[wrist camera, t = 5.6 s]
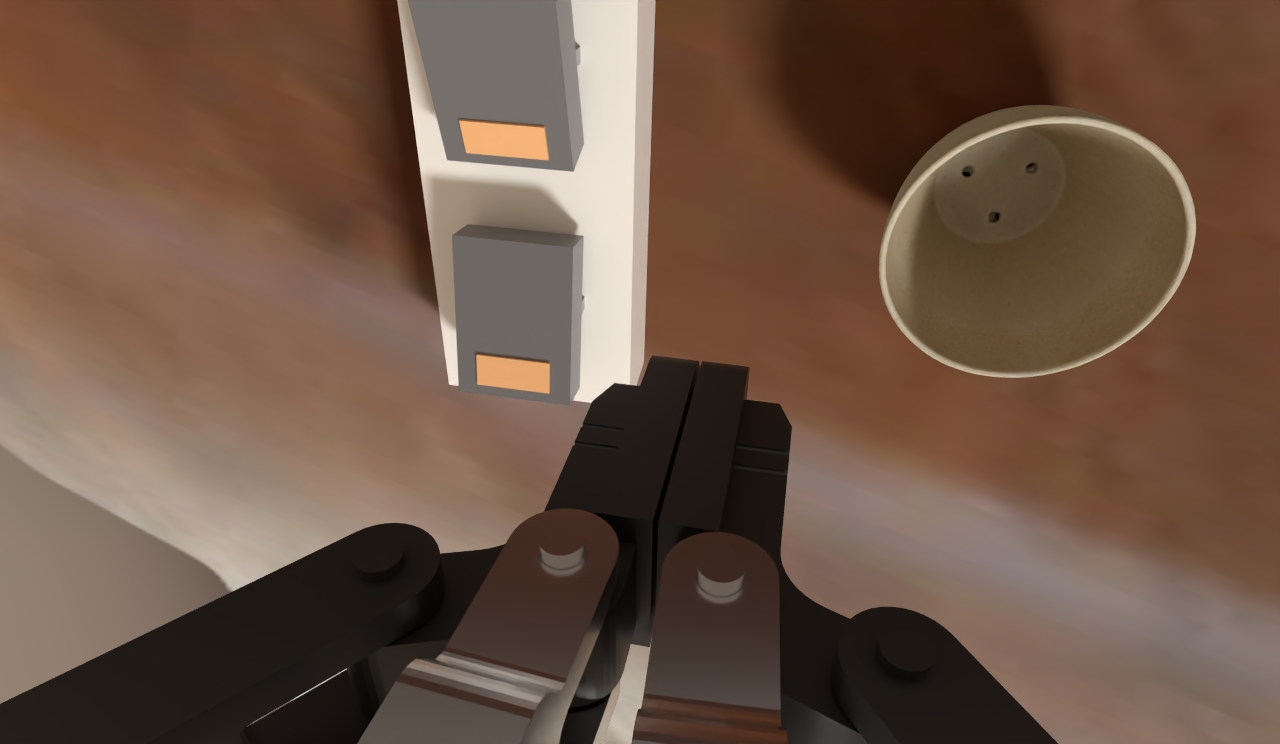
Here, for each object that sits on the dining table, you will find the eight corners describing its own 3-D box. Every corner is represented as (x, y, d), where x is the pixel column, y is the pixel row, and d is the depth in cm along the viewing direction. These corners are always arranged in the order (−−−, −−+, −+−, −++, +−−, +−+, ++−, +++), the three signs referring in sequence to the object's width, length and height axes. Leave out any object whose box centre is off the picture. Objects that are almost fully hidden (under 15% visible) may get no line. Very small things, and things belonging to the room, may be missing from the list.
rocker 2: (583, 235, 34) (572, 248, 32) (579, 387, 37) (569, 406, 35) (468, 224, 35) (450, 235, 33) (473, 374, 37) (457, 392, 36)
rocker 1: (567, -41, 27) (553, -13, 25) (584, 143, 32) (573, 173, 31) (420, -49, 27) (400, -22, 26) (461, 133, 33) (446, 161, 31)
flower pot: (923, 30, 31) (946, 82, 26) (1181, 94, 31) (1265, 160, 25) (837, 257, 37) (841, 341, 31) (1054, 313, 37) (1098, 407, 31)
